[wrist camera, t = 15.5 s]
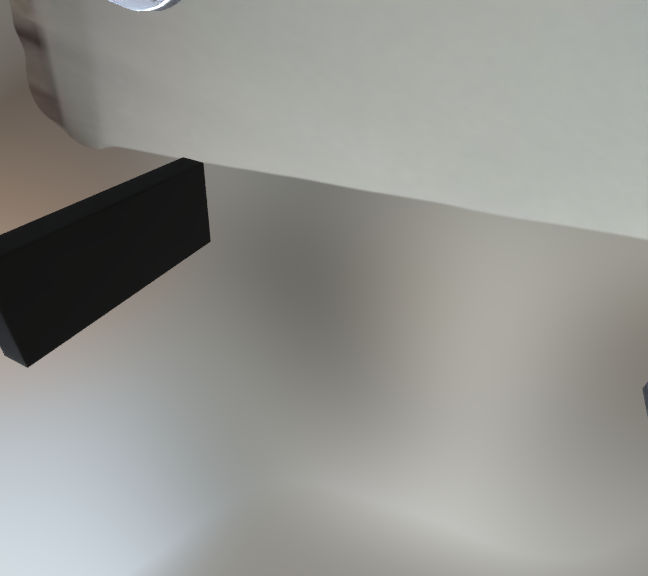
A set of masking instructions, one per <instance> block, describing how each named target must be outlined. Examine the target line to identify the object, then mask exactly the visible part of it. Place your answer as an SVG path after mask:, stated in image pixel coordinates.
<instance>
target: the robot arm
mask: <svg viewBox="0 0 648 576" xmlns="http://www.w3.org/2000/svg"><path fill="white" fill-rule="evenodd" d="M109 1H111V2H113V3H116V4H118V5H120V6H122V7H125V8H127V9H131V10H136V11H157V10H164V9H167V8H170V7H171V6H173V5H175V4H176V3H178V2H179V1H180V0H109ZM209 242H210V230H209V219H208V208H207V198H206V187H205V176H204V165H203V163H202V162H198V161H195V160H191V159H187V158H184V157H183V158H180V159H178V160H176V161H174V162H171V163H169V164H166V165H164V166H162V167H159V168H157V169H155V170H152V171H150V172H148V173H145V174H143V175H140V176H138V177H136V178H134V179H131V180H129V181H126V182H124V183H122V184H119V185H117V186H114V187H112V188H110V189H108V190H105V191H103V192H100V193H98V194H96V195H93V196H91V197H89V198H86V199H84V200H82V201H79V202H77V203H75V204H72V205H70V206H68V207H65V208H63V209H60V210H58V211H56V212H53V213H51V214H49V215H46V216H44V217H42V218H39V219H37V220H35V221H32V222H30V223H27V224H25V225H23V226H20V227H18V228H16V229H13V230H11V231H9V232H7V233H4V234H2V235H0V347H1V349H2V351H3V353H4V355H5V356H7V357H8V358H10V359H12V360H14V361H16V362H18V363H20V364H22V365H23V366H25V367H29V366H31V365H32V364H34V363H35V362H37V361H38V360H39V359H41V358H42V357H44V356H45V355H47V354H48V353H50V352H51V351H53V350H54V349H55V348H57V347H58V346H60V345H61V344H63V343H64V342H65V341H67V340H69V339H70V338H71V337H73V336H74V335H75V334H77V333H79V332H80V331H82V330H83V329H84V328H86V327H87V326H89V325H90V324H92V323H93V322H94V321H96V320H97V319H99V318H100V317H102V316H103V315H105V314H106V313H108V312H109V311H110V310H112V309H113V308H115V307H116V306H118V305H119V304H121V303H122V302H123V301H125V300H126V299H128V298H129V297H131V296H132V295H134V294H135V293H137V292H138V291H139V290H141V289H142V288H144V287H145V286H146V285H148V284H150V283H151V282H152V281H154V280H155V279H157V278H158V277H160V276H161V275H163V274H164V273H166V272H167V271H168V270H170V269H171V268H173V267H174V266H176V265H177V264H178V263H180V262H181V261H183V260H184V259H186V258H187V257H189V256H190V255H192V254H193V253H195V252H196V251H197V250H199V249H200V248H202V247H203V246H205V245H206V244H207V243H209ZM643 393H644V399H645V405H646V410H647V415H648V382H647V384H646V385H645V386H644V387H643Z"/></svg>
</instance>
